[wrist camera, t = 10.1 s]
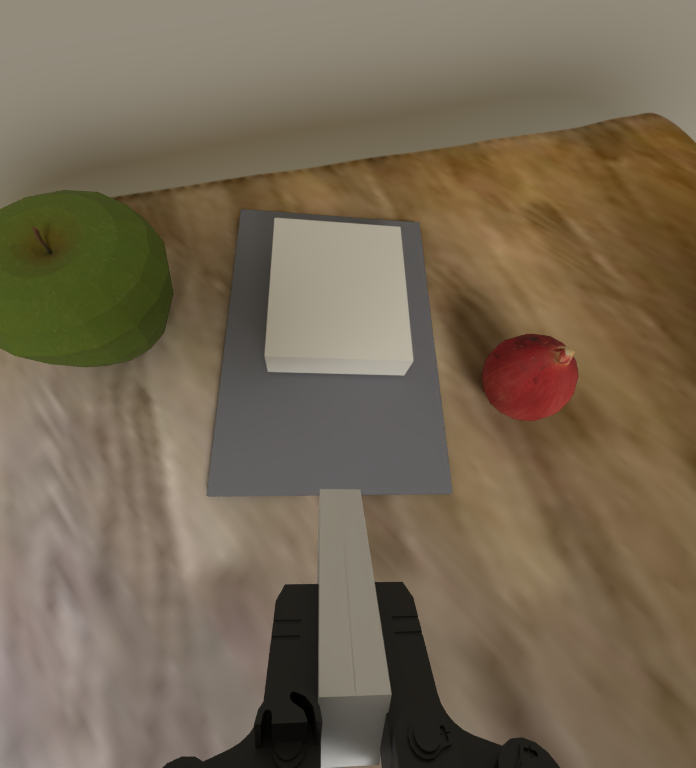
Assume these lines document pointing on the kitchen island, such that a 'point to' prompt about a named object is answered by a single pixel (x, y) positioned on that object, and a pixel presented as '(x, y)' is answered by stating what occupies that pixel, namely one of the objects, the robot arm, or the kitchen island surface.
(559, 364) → the red pomegranate
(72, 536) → the kitchen island surface
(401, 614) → the robot arm
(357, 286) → the tile
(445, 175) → the kitchen island surface
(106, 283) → the apple
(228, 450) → the mat
